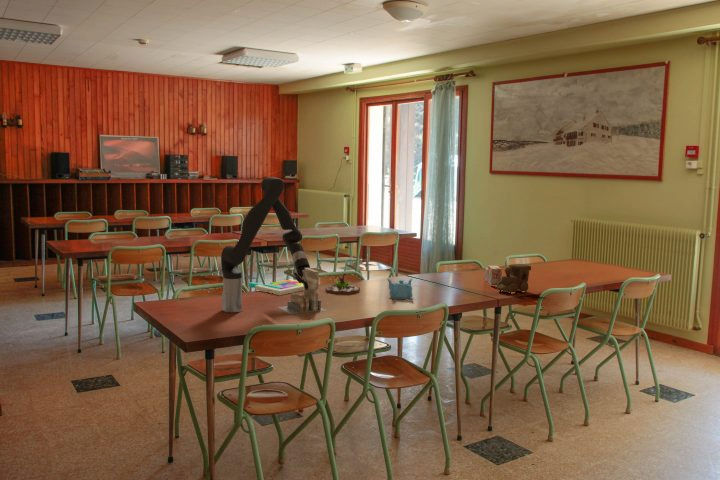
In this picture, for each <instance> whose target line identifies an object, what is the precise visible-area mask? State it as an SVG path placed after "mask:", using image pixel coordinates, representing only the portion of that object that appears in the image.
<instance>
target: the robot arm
mask: <svg viewBox="0 0 720 480" xmlns="http://www.w3.org/2000/svg"><path fill="white" fill-rule="evenodd" d="M260 188H261V190H262V193H263V194H264V195H263V197H262V198H261V199H260V200H259V201H258V202H257V203H255V204H254V205H253V206H252V207H251V208H250V209H249V211H248V212H247V213H246V216H245V217H244V219H243V221H242V225H241V232H240V233H241V235H240V237H239V239H238V241H237V242H236V244H235V245H226V246H225V247H224V248H223V249H222V250H221V256H220V259H221V260H220V261H221V264H220V265H221V272H222V275H223V279H222V280H223V285H222V286H223V290H222V292H221V310H222V311H223V312H224V313H240V312H242V310H243V309H242V308H243V306H242V305H243V304H242V303H243V302H242V300H243V292H242V291H243V273H242V271H241V270H240V268H239V265H241V264H242V263H243V262H244V261H245V259H246V257H247V254H248V252H249V250H250V247H251V245H252V243H253V242H254V239H255V238H256V235H258V232H259V230H260V229H261V227H262V225H263V223H264V222H265V220H266V219H267V216H268V214H269V212H270V211H271V209H273V211H274V214H275V216H276V218H277V220H278V223H279V225H280V228H281V229H282V230H283V231H287V230H289V231H287V232H284V233H283V234H282V241H283V242H284V244H285V245H286V247H287V248H288V250H289V252H290V255H291V258H292V262H293V265H294V268H295V272H294V273H293V274H292V277H293V278H294V280H297V281H298V282H299V283H303V285H304V288H305V289H306V290H307V289H308V284H307V282H306V278H305V274H304V271H305V268H311V265H310V263H309V259H308V257H307V255H306V251H305V250H304V247H303V245H302V244H301V243H299V242H301V241H302V239H303V234H302V232H301V231H300V229H299V228H298V227H297V226H296V225H295V222H294V220H293V218H292V214H291V213H290V211H289V209H288V208H287V207H286V206H285V204H284V203H283V202H282V201H281V199H280V196H281V195H282V193H283V191H284V188H285V182H284V180H283V179H281V178H278V177H273V176H271V177H270V176H269V177H264V178H263V179H262V180H261V183H260Z"/></svg>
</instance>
